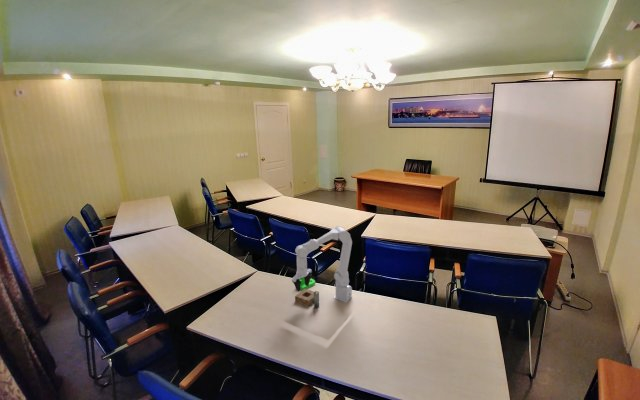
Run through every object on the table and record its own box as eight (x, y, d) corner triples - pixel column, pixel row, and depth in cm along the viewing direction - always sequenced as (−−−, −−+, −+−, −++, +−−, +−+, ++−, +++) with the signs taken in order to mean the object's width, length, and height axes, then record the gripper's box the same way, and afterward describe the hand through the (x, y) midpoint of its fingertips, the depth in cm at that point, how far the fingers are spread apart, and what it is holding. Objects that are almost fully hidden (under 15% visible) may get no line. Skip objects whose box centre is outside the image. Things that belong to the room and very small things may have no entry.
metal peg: (320, 306, 165) (319, 292, 163) (317, 308, 162) (317, 294, 160) (315, 304, 166) (315, 290, 164) (312, 307, 164) (312, 293, 162)
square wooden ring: (318, 298, 173) (318, 293, 172) (308, 306, 165) (308, 300, 164) (305, 293, 178) (304, 288, 177) (295, 301, 170) (295, 296, 169)
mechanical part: (302, 290, 182) (302, 279, 181) (297, 287, 187) (296, 275, 185) (317, 284, 190) (316, 273, 188) (311, 280, 195) (310, 270, 193)
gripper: (304, 260, 170) (305, 281, 173) (287, 269, 158) (288, 291, 161) (314, 263, 165) (314, 284, 168) (297, 272, 154) (298, 295, 157)
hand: (302, 288), depth 165 cm, fingers open, 7 cm apart
